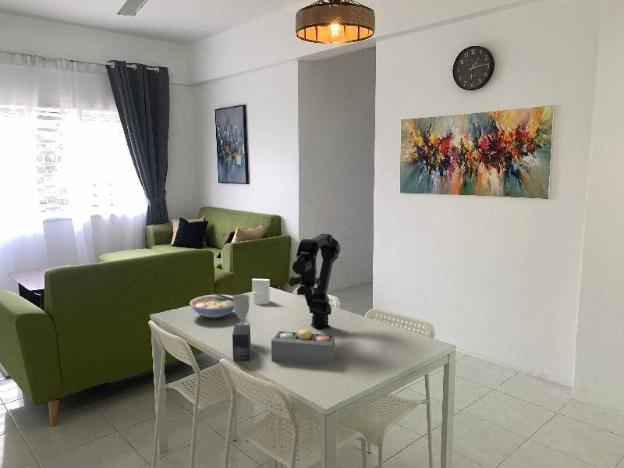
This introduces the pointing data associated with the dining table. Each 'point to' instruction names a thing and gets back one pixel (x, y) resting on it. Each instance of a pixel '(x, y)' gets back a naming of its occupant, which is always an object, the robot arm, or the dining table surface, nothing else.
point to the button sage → (286, 335)
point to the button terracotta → (323, 338)
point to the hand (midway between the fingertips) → (309, 306)
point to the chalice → (241, 306)
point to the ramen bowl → (213, 305)
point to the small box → (241, 343)
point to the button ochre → (304, 334)
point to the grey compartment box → (303, 349)
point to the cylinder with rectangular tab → (260, 291)
